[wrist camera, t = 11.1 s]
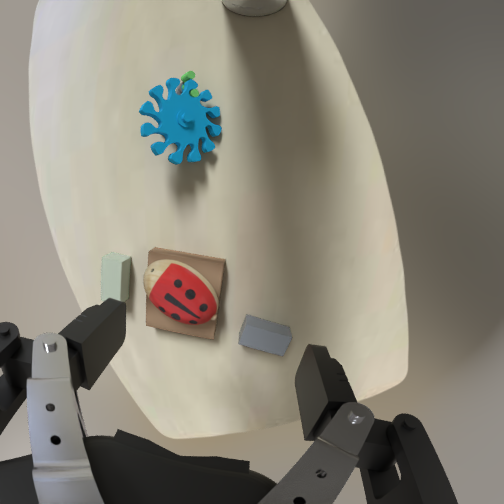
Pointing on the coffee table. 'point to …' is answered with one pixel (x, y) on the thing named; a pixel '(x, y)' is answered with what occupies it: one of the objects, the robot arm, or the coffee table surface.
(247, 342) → the slate brick
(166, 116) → the gear
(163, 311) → the ladybug figurine
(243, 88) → the coffee table surface
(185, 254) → the walnut block
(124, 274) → the sage brick
